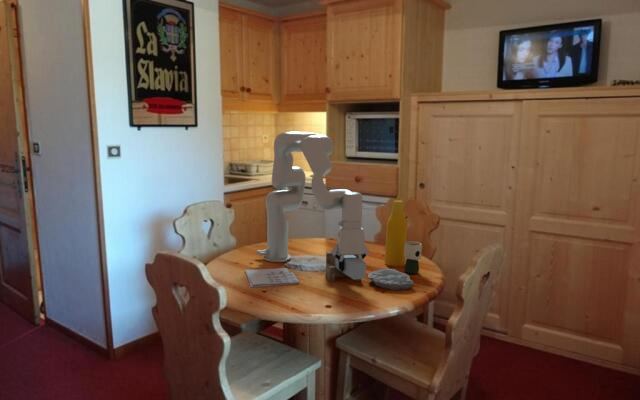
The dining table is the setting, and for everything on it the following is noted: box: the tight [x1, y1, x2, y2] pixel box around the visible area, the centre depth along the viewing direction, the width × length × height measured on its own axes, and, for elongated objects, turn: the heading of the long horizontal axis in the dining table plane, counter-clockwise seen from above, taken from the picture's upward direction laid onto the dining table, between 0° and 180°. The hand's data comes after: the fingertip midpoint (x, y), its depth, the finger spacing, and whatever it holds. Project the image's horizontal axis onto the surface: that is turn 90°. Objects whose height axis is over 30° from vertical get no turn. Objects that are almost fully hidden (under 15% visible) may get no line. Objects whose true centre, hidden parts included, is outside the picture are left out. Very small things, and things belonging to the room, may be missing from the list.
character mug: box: [403, 241, 423, 275], centre depth 201 cm, size 11×7×13 cm, turn 145°
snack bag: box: [244, 267, 300, 288], centre depth 191 cm, size 19×20×2 cm
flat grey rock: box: [367, 268, 415, 291], centre depth 188 cm, size 20×17×3 cm
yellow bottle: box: [384, 199, 408, 268], centre depth 212 cm, size 9×9×29 cm
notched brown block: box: [325, 251, 362, 283], centre depth 192 cm, size 13×9×11 cm, turn 100°
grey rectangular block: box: [335, 251, 367, 281], centre depth 182 cm, size 5×16×7 cm, turn 23°
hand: (349, 270), depth 182 cm, fingers closed on grey rectangular block, 5 cm apart
